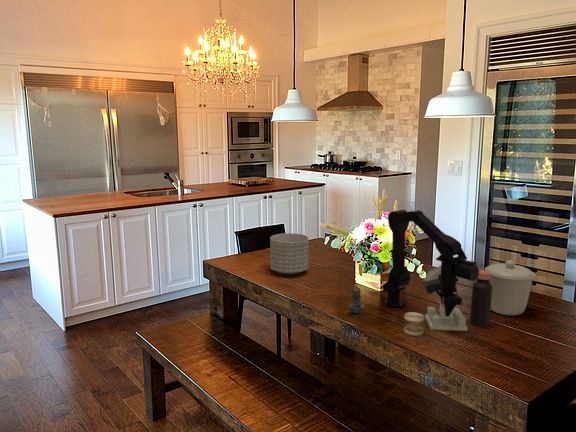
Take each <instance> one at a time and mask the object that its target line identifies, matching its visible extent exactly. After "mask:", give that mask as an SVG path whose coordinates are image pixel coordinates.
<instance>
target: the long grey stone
mask: <svg viewBox="0 0 576 432" xmlns="http://www.w3.org/2000/svg"><path fill="white" fill-rule="evenodd" d="M439 274H441V265H439V266H437V267H436V268H434V269H432V270H428V271H427V272H426V274H425V275H426V278H424V277H423V278H422V282H423V283H424V282H427V281H430V280H434V279H438V275H439Z"/></svg>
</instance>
